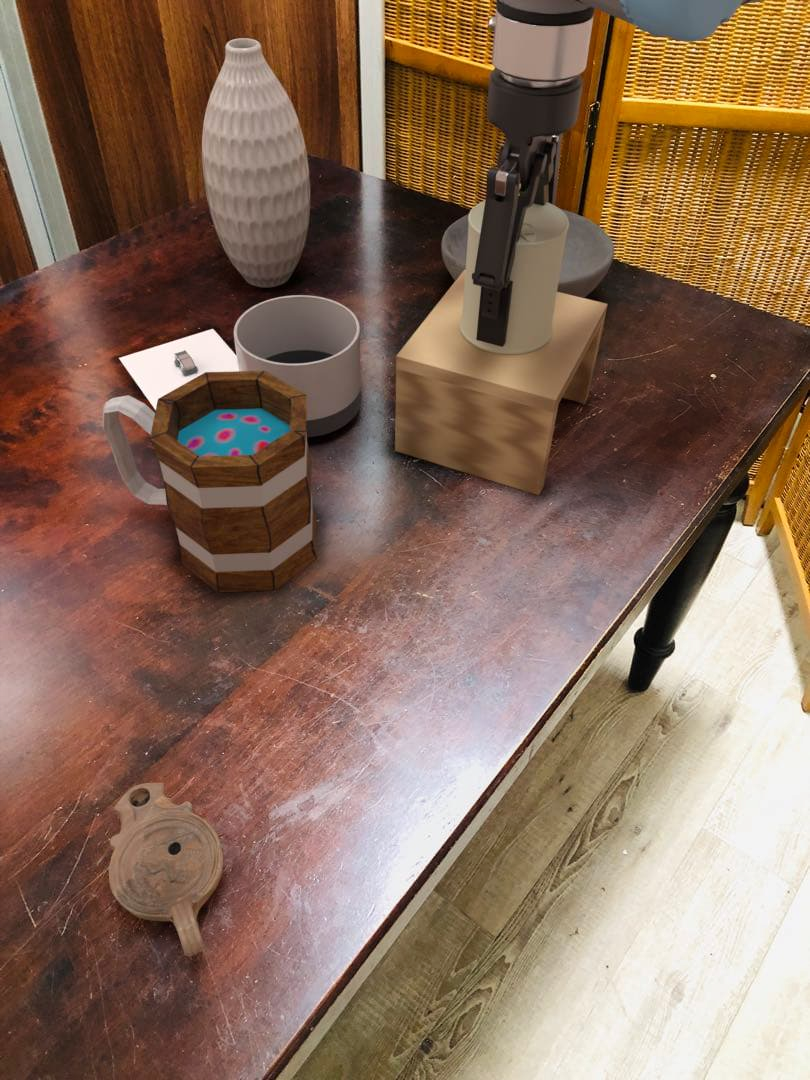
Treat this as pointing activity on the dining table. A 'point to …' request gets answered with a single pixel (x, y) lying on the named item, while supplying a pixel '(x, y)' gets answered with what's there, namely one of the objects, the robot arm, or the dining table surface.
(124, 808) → the oil lamp
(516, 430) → the shelf
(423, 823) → the dining table surface
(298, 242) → the vase
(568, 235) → the bowl
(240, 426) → the mug
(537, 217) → the can
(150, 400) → the white paper sheet
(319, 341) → the planter
